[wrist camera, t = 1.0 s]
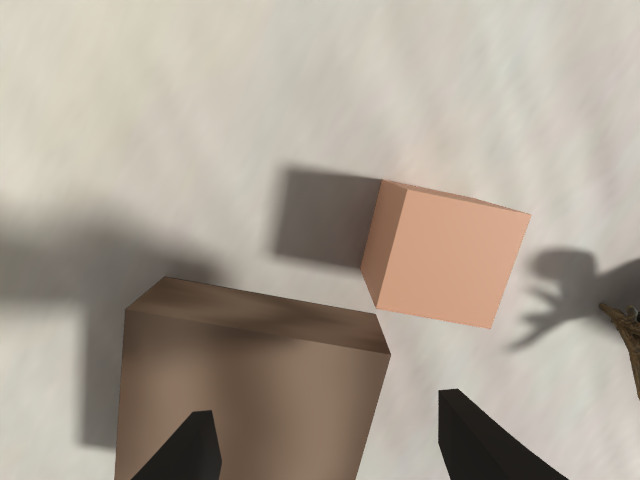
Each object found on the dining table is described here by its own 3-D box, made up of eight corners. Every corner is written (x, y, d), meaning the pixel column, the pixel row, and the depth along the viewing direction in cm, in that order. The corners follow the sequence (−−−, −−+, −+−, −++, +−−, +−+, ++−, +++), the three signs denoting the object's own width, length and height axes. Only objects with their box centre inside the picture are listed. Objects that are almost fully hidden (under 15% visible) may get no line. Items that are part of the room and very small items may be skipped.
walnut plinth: (375, 314, 19) (391, 354, 16) (332, 477, 22) (336, 545, 18) (164, 276, 19) (125, 309, 15) (148, 450, 22) (111, 516, 18)
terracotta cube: (472, 197, 18) (531, 214, 13) (445, 284, 19) (490, 328, 14) (381, 179, 18) (407, 189, 13) (359, 268, 19) (376, 308, 14)
